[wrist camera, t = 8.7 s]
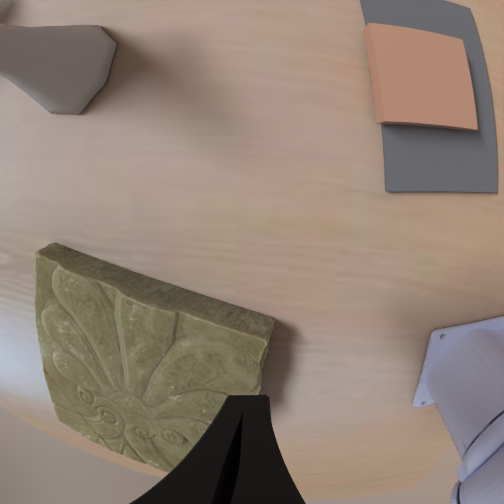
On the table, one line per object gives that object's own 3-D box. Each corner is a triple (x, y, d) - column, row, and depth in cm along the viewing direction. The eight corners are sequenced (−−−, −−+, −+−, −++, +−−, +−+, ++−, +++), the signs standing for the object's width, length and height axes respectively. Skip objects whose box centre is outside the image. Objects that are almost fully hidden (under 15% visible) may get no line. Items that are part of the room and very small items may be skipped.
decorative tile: (66, 404, 27) (52, 424, 23) (53, 238, 20) (24, 251, 17) (223, 464, 27) (218, 490, 23) (286, 313, 20) (287, 343, 17)
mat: (467, 10, 12) (470, 8, 12) (494, 191, 16) (497, 192, 16) (356, -14, 13) (357, -16, 12) (385, 190, 17) (387, 191, 16)
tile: (362, 32, 14) (451, 45, 13) (375, 124, 15) (464, 130, 15) (368, 22, 12) (462, 39, 11) (384, 121, 14) (477, 129, 13)
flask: (84, 131, 17) (-31, 130, 8) (28, 99, 17) (-70, 94, 7) (135, 37, 15) (41, -23, 6) (70, 18, 15) (-17, -20, 5)
